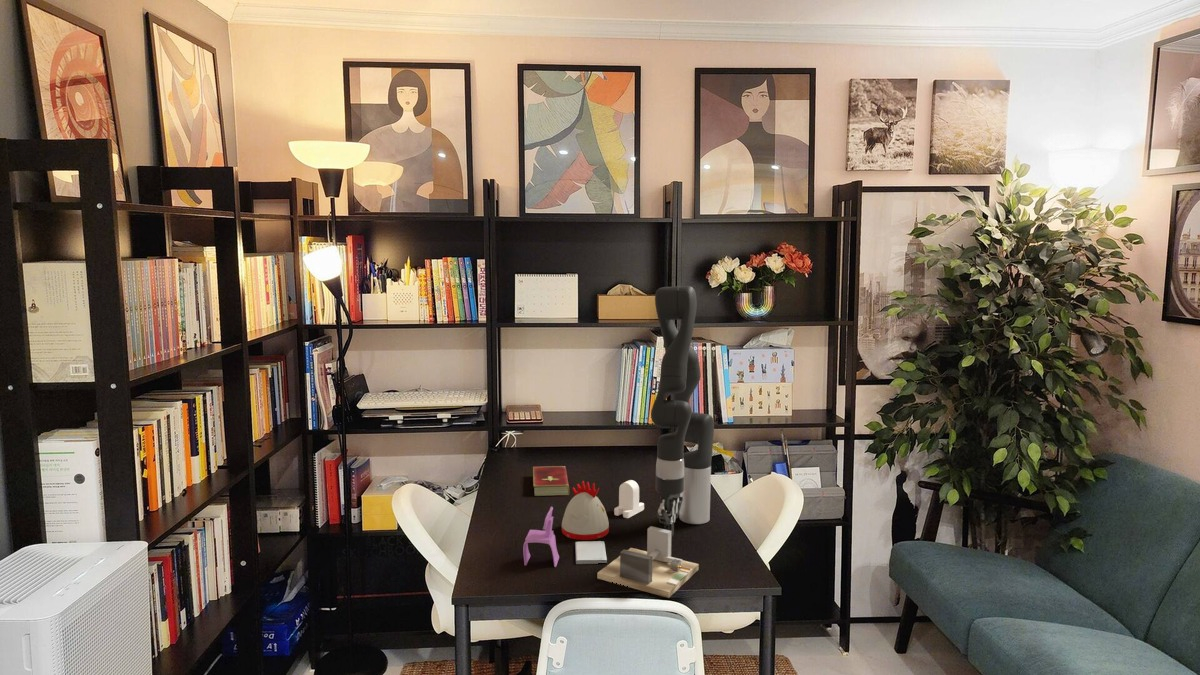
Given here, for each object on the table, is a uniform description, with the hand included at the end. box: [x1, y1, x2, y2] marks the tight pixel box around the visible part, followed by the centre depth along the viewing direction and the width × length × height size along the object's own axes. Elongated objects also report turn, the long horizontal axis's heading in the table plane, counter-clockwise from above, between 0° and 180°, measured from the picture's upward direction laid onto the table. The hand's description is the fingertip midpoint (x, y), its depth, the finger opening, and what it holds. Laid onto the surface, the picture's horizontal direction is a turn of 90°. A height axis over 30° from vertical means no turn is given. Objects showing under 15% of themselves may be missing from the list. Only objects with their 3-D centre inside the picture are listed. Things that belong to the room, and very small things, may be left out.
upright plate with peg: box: [646, 525, 684, 565], centre depth 195 cm, size 7×10×8 cm
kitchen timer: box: [561, 480, 610, 541], centre depth 221 cm, size 14×14×15 cm
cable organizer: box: [613, 479, 645, 519], centre depth 237 cm, size 5×10×10 cm, turn 145°
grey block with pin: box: [670, 559, 690, 571], centre depth 193 cm, size 2×5×2 cm, turn 60°
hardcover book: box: [532, 465, 570, 497], centre depth 262 cm, size 12×21×4 cm, turn 6°
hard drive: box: [574, 540, 608, 565], centre depth 206 cm, size 2×8×12 cm
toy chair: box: [522, 506, 560, 568], centre depth 200 cm, size 8×9×15 cm
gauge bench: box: [597, 547, 700, 599], centre depth 194 cm, size 18×20×8 cm
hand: (668, 535), depth 203 cm, fingers closed
